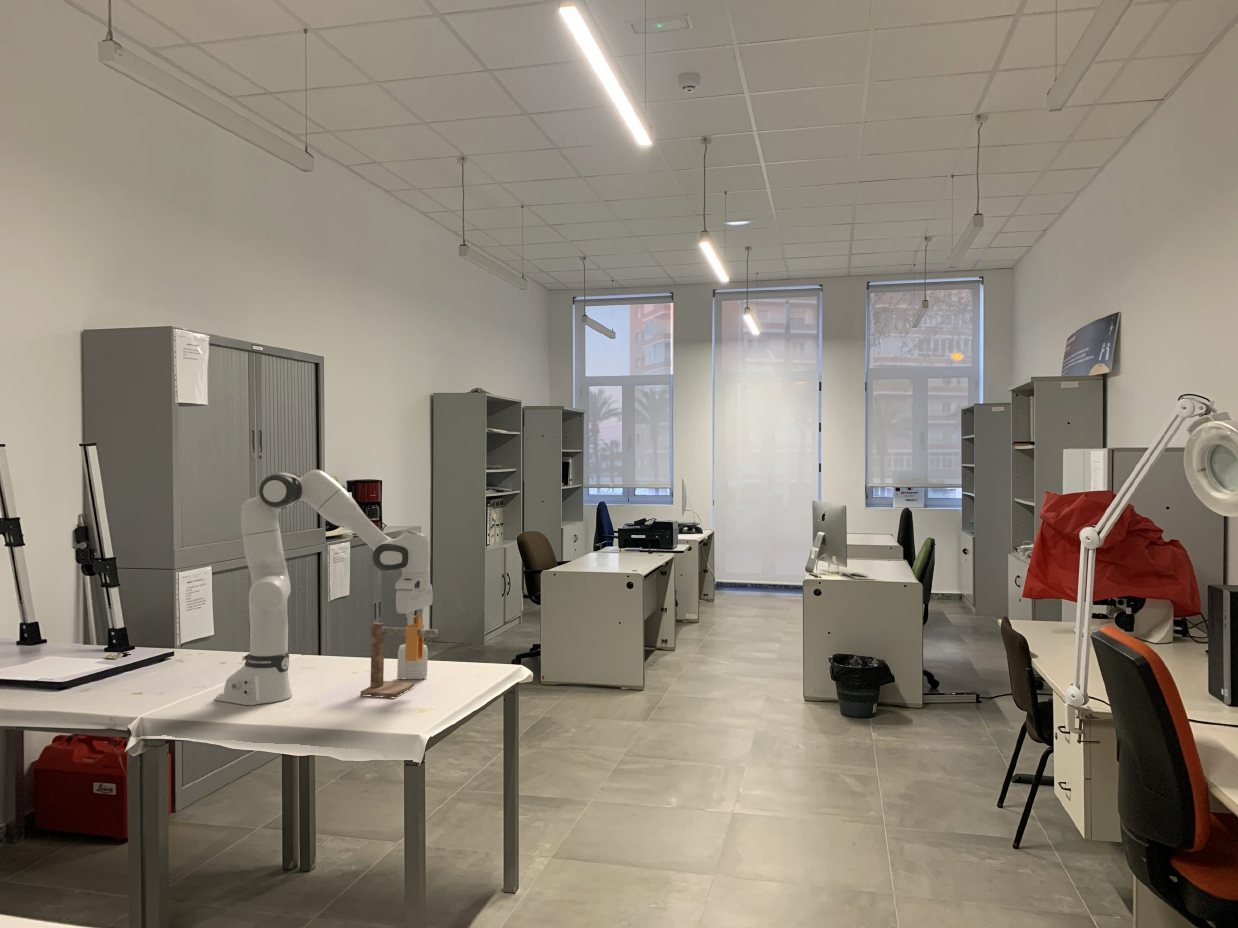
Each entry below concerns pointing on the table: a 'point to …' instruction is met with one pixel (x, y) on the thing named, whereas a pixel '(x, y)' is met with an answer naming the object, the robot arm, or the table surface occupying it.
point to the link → (414, 640)
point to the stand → (377, 661)
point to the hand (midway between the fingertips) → (414, 623)
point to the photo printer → (411, 665)
